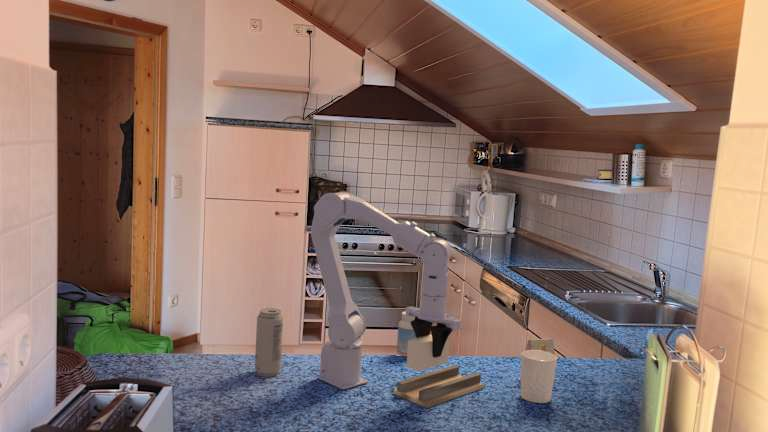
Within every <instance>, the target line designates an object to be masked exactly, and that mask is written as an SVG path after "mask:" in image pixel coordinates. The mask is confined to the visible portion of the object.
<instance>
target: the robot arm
mask: <svg viewBox="0 0 768 432" xmlns="http://www.w3.org/2000/svg"><path fill="white" fill-rule="evenodd" d="M313 211H314V213H313V214H314V215H313V218H312V223H311V228H310V231H309V232H310V236H311V241H312V245H313V247H314V252H315V256H316V259H317V263H318V267H319V269H320V275H321V277H322V281H323V285H324V289H325V293H326V297H327V301H328V305H329V310H328V313H327V314H328V316H327V321H328V329H327V335H328V339H329V340H327V341H326V342H325V343H324V344H323V346H322V348H321V352H320V366H319V368H320V369H319V375H316V378H317V379H319V380H321V381H322V382H326V383H327V384H329V385H332V386H334V387H335V388H338V389H341V390H348V389H350V388H354V387H358V386H361V385H364V384H367V383H369V380H367V379H366V378H363V377H361V373H362V372H361V371H362V354H363V352H362V351H363V341H362V336H363V335H364V333H365V332H366V330H367V323H366V320H365V317H364V316H363V315H362V314H361V313H360V311H359V307H358V305H357V304H356V303H355V301H353V299H352V295H351V291H350V288H349V283H348V281H347V276H346V273H345V269H344V265H343V261H342V258H341V253H340V250H339V246H338V243H337V239H336V234H337V232H338V230H339V229H340V228H341V226H342V224H343V223H344V222H345V221H347V220H361V221H364V222H366V223H368V224H370V225H371V226H374V227H375V228H377V229H379V230H381V231H382V232H385V233H387V234H388V235H390V236H391V238H392V242H393V244H395V245H396V246H398V247H399V248H401V249H403V250H405V251H407V252H408V253H410V254H412V255H413V256H415V257H417V258H420V260H421V262H422V265H423V269H422V272H421V273H422V275H421V288H420V305H419V307H417V306H406V307H405V311H406V316H412V317H415V319H414V320H413V321H411V326H412V328H413V330H414V332H415V335H416V338H419V337H423V336H427V335H431V334H432V341H433V347H432V354H433V357H435V358H436V357H440V356H441V354H442V351H443V348H444V345H445V343H446V340H447V338H448V337H449V336H450V335H451V333H452V332H453V331H458V330H461V325H462V323H461V322H462V321H461V319H458V318H455V317H454V316H451V315H450V314H447V313H446V312H447V311H446V310H447V298H448V296H447V295H448V285H449V284H448V283H449V273H448V272H449V262H448V261H449V260H450V259H451V257H452V248H451V247H452V246H451V245H450V244H449V243H448V242H447V241H446V240H445V239H444V238H441V237H436V235H435V233H428V232H426V231H425V230H423V229H421V228H420V227H418V223H417V222H415V221H410V222H409V221H407V220H405V221H401V222H398V221H396V220H395V219H393V218H392V217H390V216H389V215H387V214H386V213H385V212H383V211H381V210H379V209H378V208H376V207H375V206H373V204H372V205H371V204H370V203H369V202H367V201H365V200H364V199H362V198H361V197H359V196H356V195H353V194H351V192H347V191H342V190H341V191H338V192H326V193H324V194H323V195H321V197H320V198H319V199H318V201H317V202H316V204H314V206H313ZM433 324H436V325H433Z"/></svg>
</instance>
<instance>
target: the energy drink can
mask: <svg viewBox="0 0 768 432" xmlns="http://www.w3.org/2000/svg"><path fill="white" fill-rule="evenodd" d="M281 311H282V310H280V309H279V308H278V309H277V308H271V307H270V308H269V307H268V308H262V309H260V310H259V314H258V316H257V317H256V333H255V334H256V335H255V337H256V339H255V357H254V359H255V360H254V364H255V365H254V370H255V372H256V374H257V375H258V376H259V377H274V376H278V374H279V372H281V369H282V347H283V346H282V345H283V330H284V329H283V327H284V317H283V315H282V313H281Z"/></svg>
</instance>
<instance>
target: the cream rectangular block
mask: <svg viewBox="0 0 768 432" xmlns="http://www.w3.org/2000/svg"><path fill="white" fill-rule="evenodd" d="M450 341H451V336H450V335H449V337H448V338H447V340H446V343H445V345H444V348H443V351H442V354H441V356H440V357H436V358H435V357H433V354H432V347H433V341H432V334H431V333H430V335H427V336H423V337H419V338H415V339H411V340H408V351H407V357H406V368H407V369H411V370H413V371H416V372H422V371H425V370H428V369H431V368H434V367H437V366H440V365H444V364H447V363H449V361H450V360H449V358H450V357H449V356H450V344H451V343H450Z"/></svg>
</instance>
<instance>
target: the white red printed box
mask: <svg viewBox="0 0 768 432" xmlns="http://www.w3.org/2000/svg"><path fill="white" fill-rule="evenodd" d="M526 350H540V351H545V352H549V353H552V354H554V355H556V353H555V346H554V339H553V338H540V339H539V338H538V339H528V340H527V343H526V346H525V349H524V351H526Z"/></svg>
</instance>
